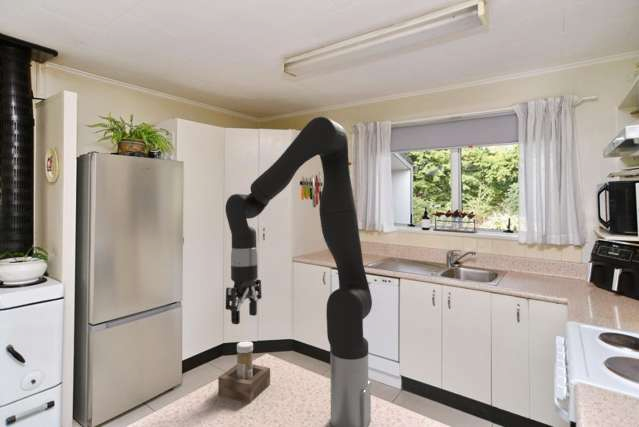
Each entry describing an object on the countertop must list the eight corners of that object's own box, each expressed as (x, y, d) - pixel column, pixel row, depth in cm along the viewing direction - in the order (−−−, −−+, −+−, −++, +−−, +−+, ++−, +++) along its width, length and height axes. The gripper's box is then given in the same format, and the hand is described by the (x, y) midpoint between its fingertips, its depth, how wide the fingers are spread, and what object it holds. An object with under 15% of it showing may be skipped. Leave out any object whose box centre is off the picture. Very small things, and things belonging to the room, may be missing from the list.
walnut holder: (270, 384, 100) (270, 367, 100) (249, 403, 90) (249, 384, 90) (240, 378, 104) (240, 361, 104) (218, 395, 94) (218, 377, 94)
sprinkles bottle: (255, 391, 97) (255, 344, 96) (240, 395, 94) (240, 347, 94) (249, 384, 100) (249, 339, 100) (234, 388, 98) (234, 342, 98)
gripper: (240, 267, 89) (241, 328, 89) (268, 260, 102) (268, 313, 102) (217, 266, 92) (218, 325, 92) (247, 259, 105) (248, 311, 105)
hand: (244, 319), depth 97 cm, fingers open, 8 cm apart
